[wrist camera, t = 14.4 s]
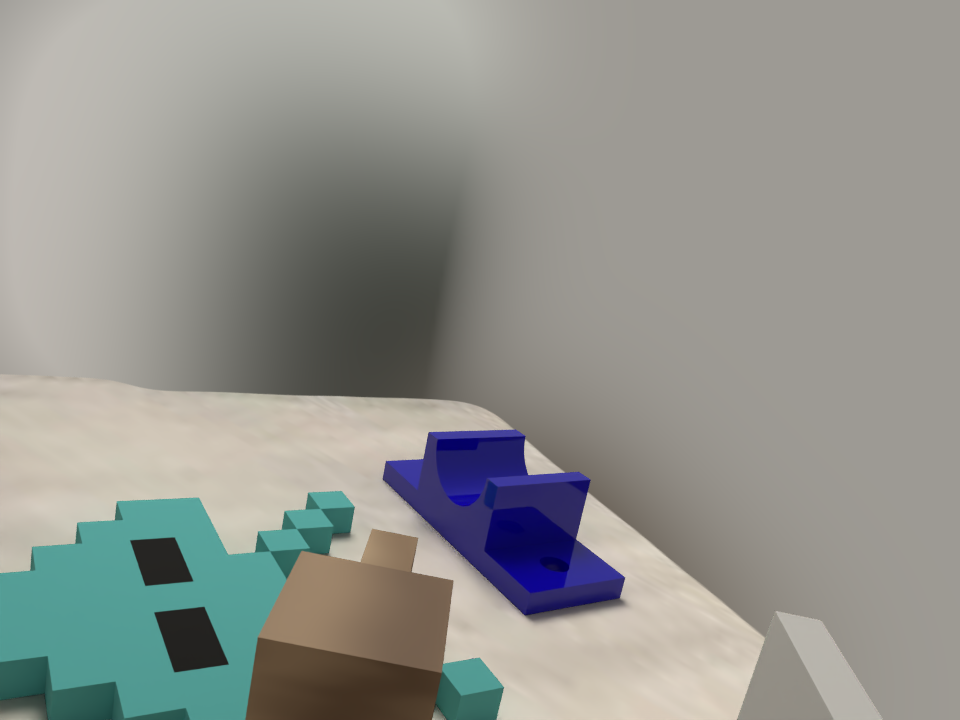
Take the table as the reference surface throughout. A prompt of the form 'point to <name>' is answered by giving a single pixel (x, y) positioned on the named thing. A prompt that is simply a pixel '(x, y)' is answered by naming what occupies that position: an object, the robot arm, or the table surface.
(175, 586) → the alien figure
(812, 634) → the robot arm
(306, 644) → the mallet
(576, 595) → the mounting bracket
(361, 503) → the table surface
